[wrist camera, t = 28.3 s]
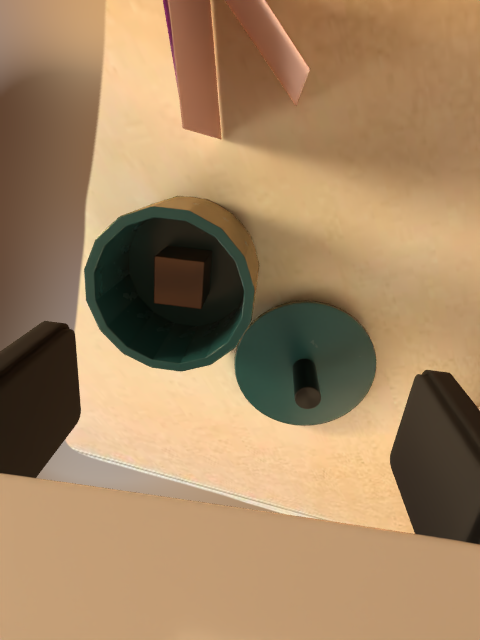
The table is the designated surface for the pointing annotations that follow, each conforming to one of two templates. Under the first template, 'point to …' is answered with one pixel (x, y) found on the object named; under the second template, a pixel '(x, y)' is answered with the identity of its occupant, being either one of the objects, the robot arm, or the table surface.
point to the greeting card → (199, 59)
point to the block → (182, 276)
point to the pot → (138, 284)
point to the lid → (305, 363)
